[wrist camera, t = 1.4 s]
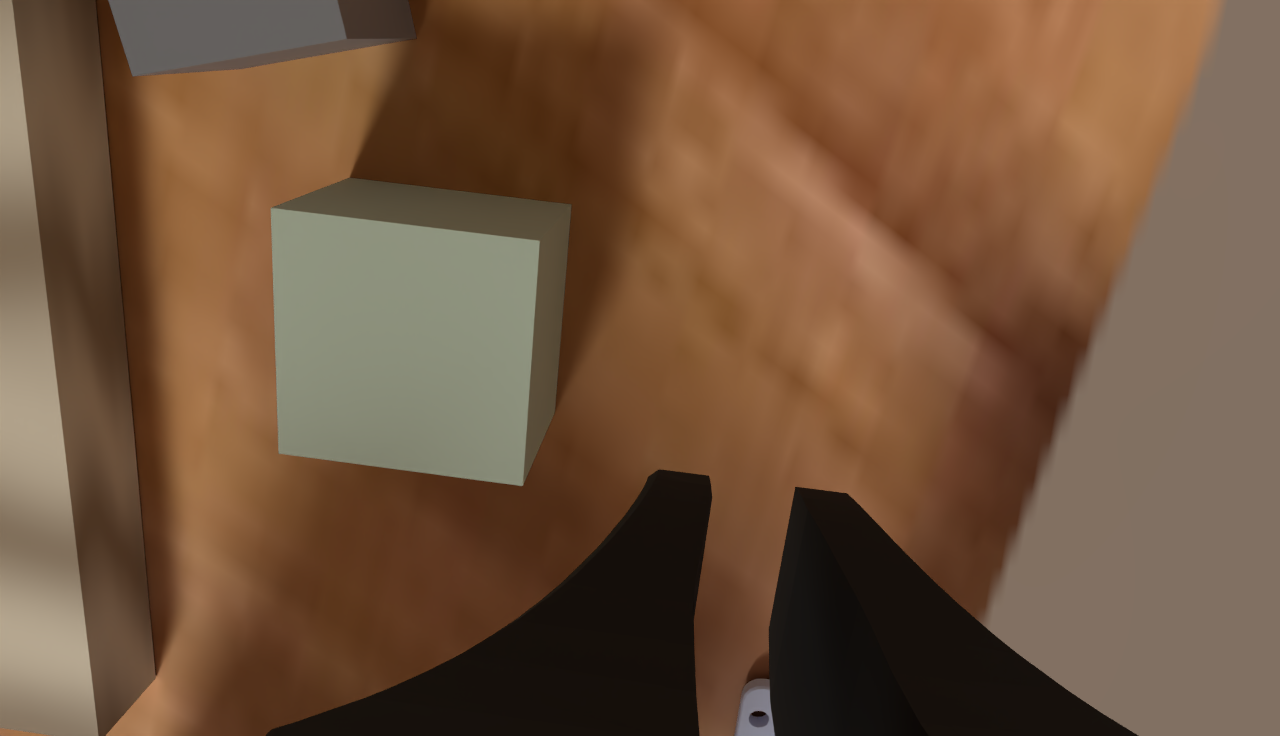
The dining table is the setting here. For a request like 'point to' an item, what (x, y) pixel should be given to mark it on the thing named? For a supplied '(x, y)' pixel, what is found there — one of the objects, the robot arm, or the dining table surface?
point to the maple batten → (64, 392)
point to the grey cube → (250, 31)
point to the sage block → (418, 327)
